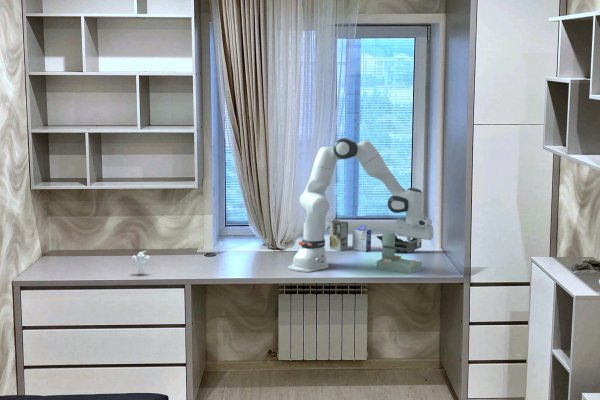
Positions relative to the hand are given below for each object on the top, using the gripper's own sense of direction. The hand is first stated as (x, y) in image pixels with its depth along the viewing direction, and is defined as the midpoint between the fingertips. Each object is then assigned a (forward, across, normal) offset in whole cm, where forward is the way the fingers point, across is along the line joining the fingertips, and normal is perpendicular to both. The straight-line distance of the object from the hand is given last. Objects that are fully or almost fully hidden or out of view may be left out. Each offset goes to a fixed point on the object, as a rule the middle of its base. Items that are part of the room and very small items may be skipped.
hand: (413, 246), depth 397 cm
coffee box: (+13, -58, +19) cm, 62 cm away
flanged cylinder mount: (+13, -8, 0) cm, 16 cm away
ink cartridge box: (+13, -46, +25) cm, 54 cm away
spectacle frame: (+2, -7, 0) cm, 7 cm away
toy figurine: (+14, -26, +33) cm, 45 cm away
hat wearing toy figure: (+12, -109, -88) cm, 140 cm away
